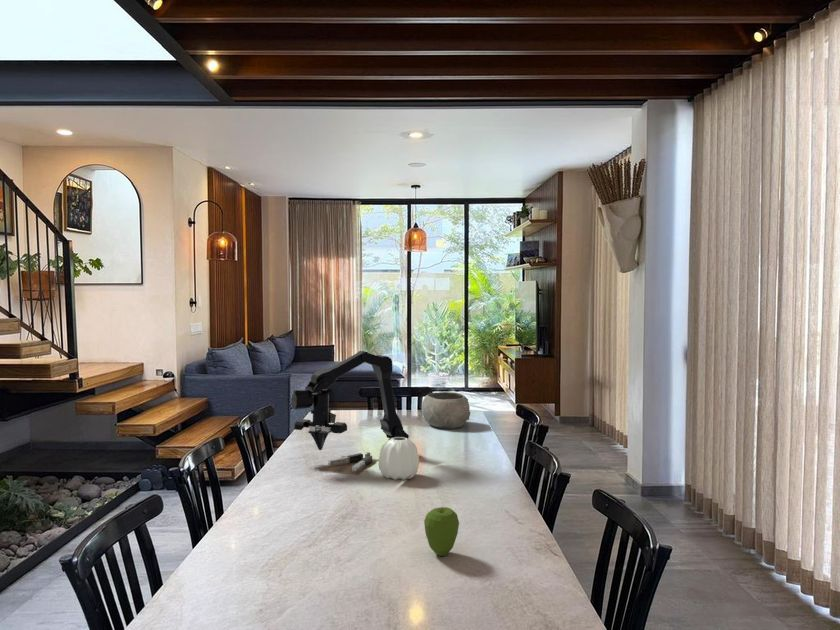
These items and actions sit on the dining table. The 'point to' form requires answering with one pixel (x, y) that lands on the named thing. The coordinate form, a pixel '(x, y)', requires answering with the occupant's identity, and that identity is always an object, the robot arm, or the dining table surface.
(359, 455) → the bar
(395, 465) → the vase
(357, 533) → the dining table surface
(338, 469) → the board
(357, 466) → the tongs fixed
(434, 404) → the bowl
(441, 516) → the apple
